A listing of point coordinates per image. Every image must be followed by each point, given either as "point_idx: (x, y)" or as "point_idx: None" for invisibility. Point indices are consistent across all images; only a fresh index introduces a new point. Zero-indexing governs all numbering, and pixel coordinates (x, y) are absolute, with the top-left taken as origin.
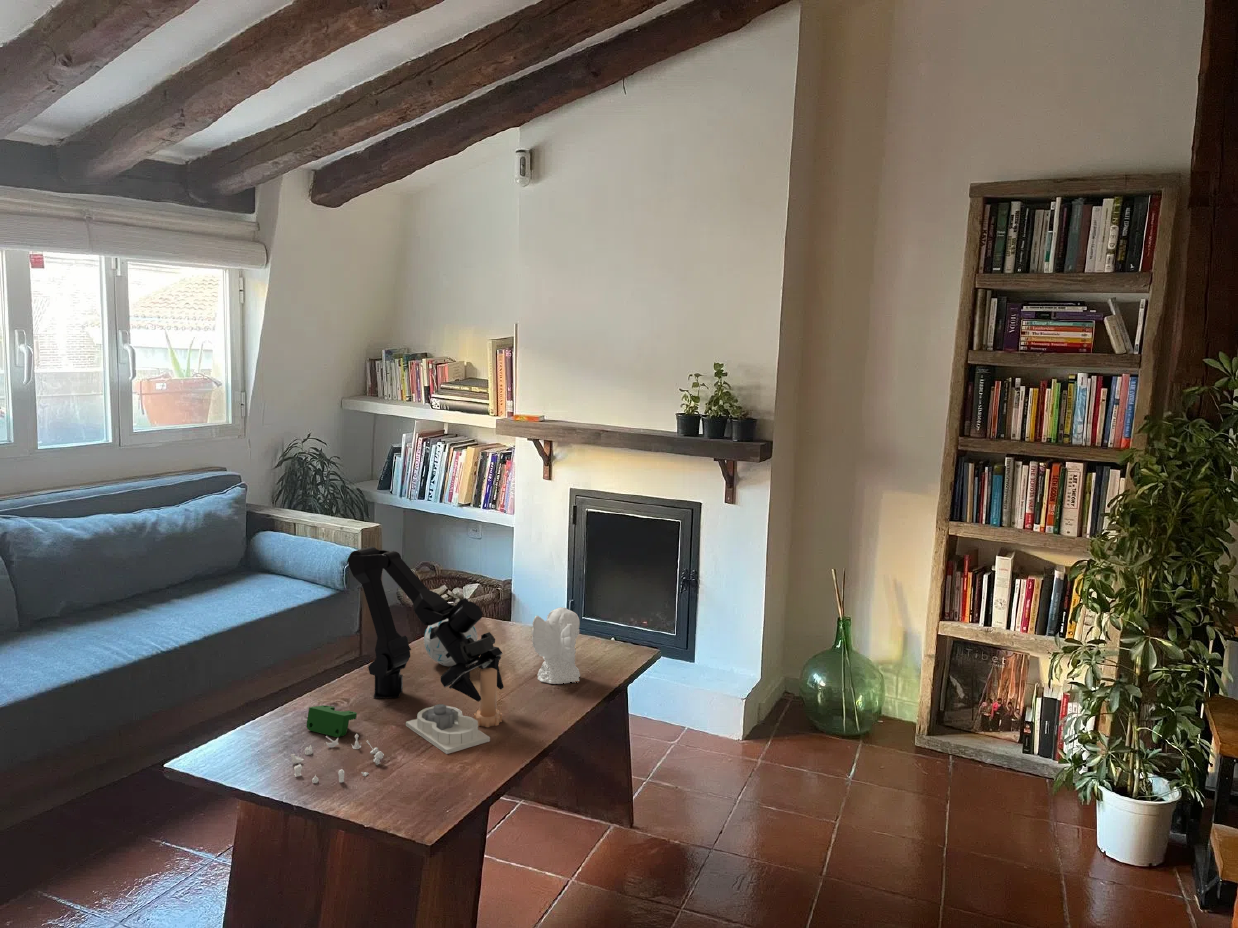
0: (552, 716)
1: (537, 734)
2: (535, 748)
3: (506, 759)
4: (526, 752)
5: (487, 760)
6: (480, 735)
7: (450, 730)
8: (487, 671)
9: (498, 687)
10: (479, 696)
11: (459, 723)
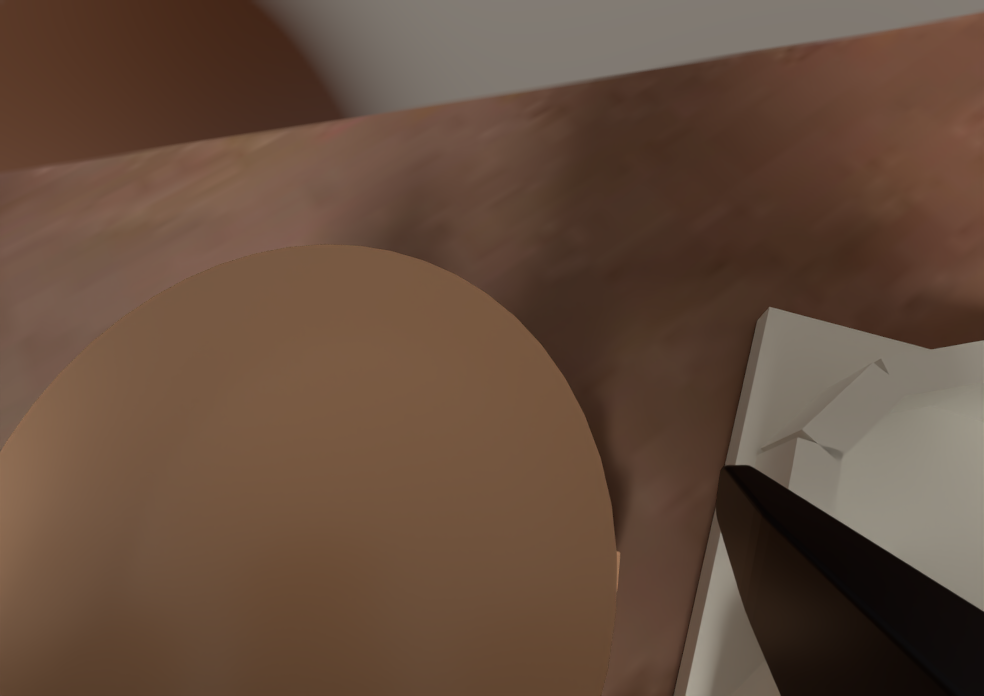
0: (225, 240)
1: (488, 169)
2: (643, 87)
3: (865, 112)
4: (715, 91)
5: (970, 173)
6: (802, 378)
7: None
8: (353, 536)
9: None
10: (763, 483)
11: None
